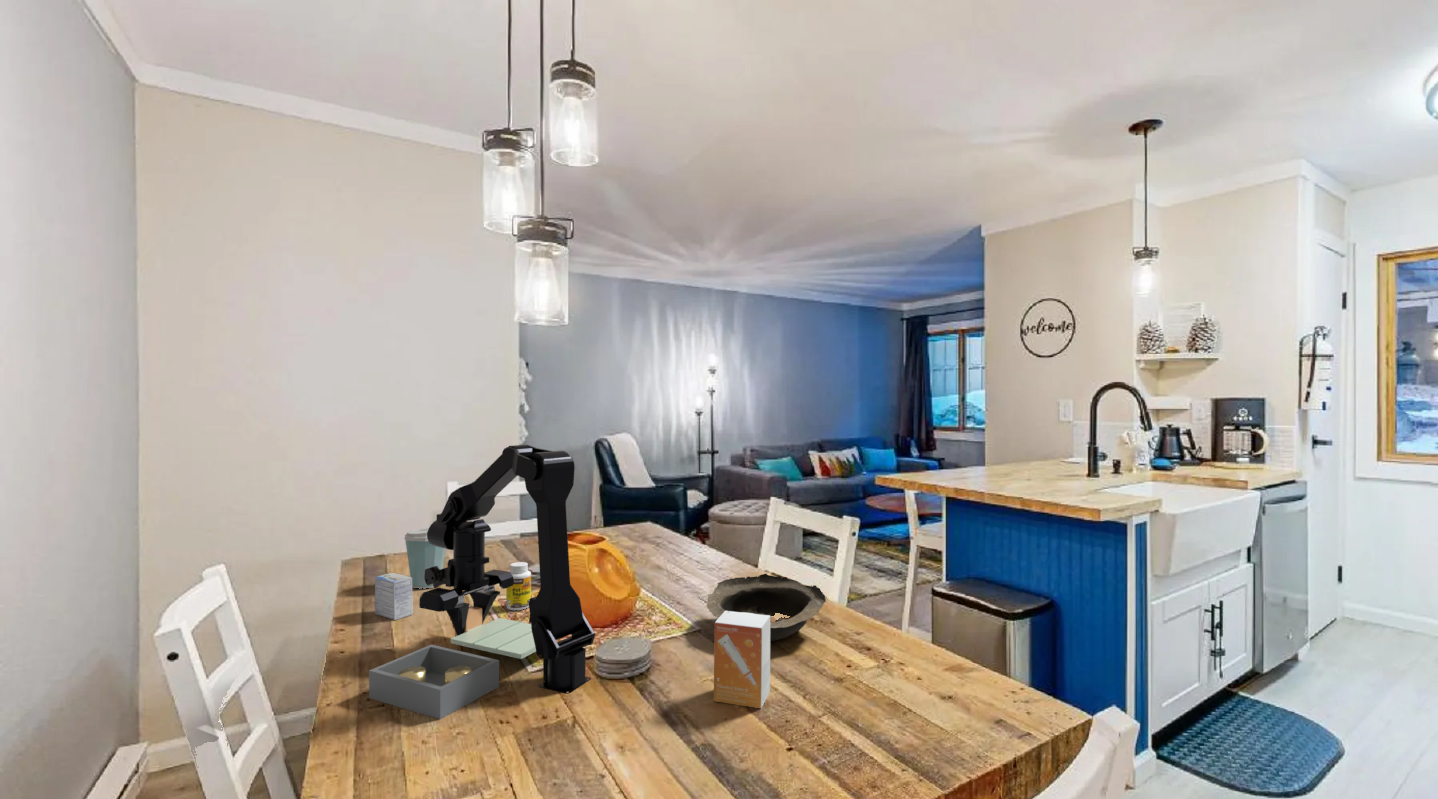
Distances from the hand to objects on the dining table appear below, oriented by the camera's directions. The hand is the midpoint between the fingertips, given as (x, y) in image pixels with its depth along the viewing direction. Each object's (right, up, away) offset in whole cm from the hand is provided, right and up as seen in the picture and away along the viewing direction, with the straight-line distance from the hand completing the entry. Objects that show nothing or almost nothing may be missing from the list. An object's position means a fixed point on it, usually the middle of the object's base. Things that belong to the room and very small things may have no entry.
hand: (468, 632), depth 124 cm
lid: (+8, -2, -4) cm, 9 cm away
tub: (+2, -3, -20) cm, 20 cm away
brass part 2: (+6, -2, -20) cm, 21 cm away
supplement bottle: (+2, -3, +24) cm, 25 cm away
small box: (+53, -3, -20) cm, 57 cm away
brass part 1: (-1, -2, -20) cm, 20 cm away
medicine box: (-25, -3, +19) cm, 31 cm away
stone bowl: (+59, -4, +9) cm, 60 cm away
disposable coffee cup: (-28, -3, +42) cm, 50 cm away
